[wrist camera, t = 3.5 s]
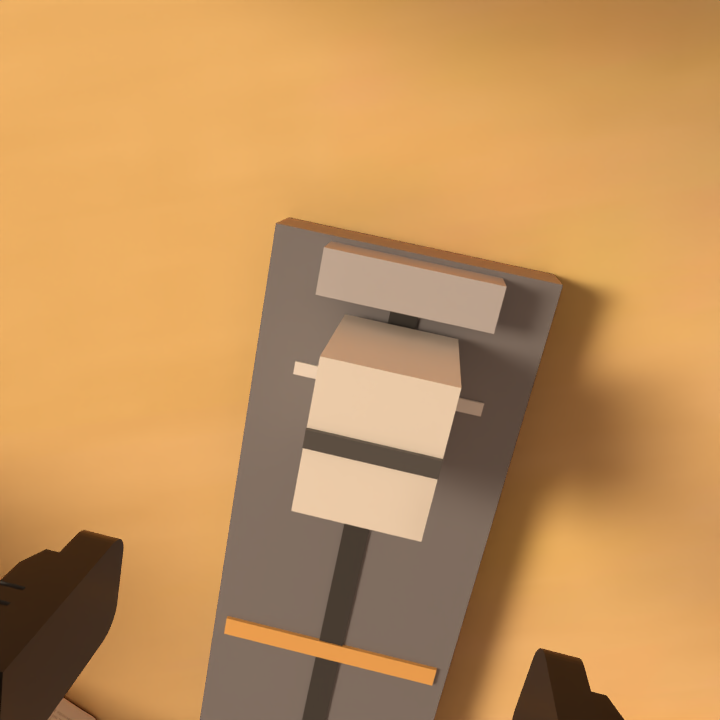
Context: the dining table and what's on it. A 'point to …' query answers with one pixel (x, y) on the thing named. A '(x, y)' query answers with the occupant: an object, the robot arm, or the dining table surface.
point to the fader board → (351, 543)
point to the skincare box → (69, 712)
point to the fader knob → (378, 427)
